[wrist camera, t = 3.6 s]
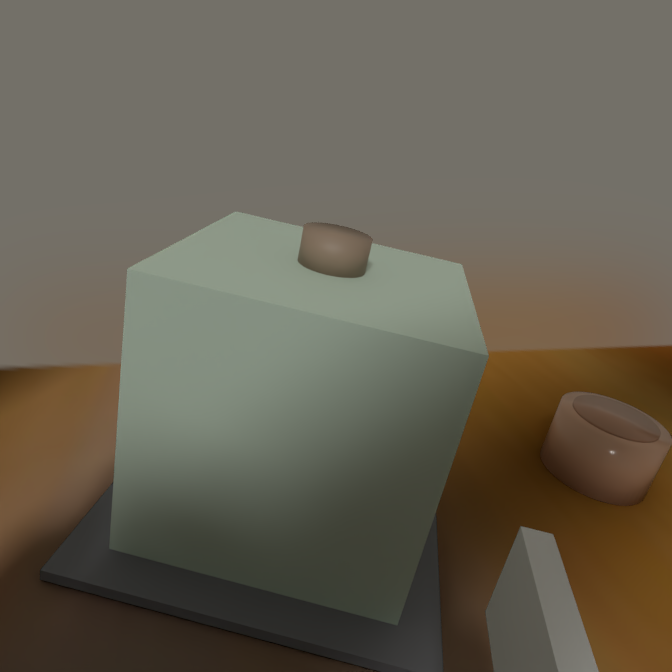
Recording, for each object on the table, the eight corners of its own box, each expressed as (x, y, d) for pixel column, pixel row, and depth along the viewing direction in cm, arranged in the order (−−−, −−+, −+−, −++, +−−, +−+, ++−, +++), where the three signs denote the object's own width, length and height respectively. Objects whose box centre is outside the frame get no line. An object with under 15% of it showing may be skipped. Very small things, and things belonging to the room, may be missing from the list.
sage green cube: (404, 457, 28) (469, 236, 24) (397, 625, 19) (503, 314, 15) (209, 408, 29) (239, 183, 24) (108, 548, 19) (130, 225, 15)
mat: (431, 454, 30) (433, 448, 29) (440, 688, 18) (444, 679, 17) (190, 394, 30) (191, 388, 30) (39, 579, 18) (40, 570, 18)
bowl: (589, 440, 35) (612, 388, 34) (667, 501, 30) (697, 444, 29) (519, 445, 33) (540, 390, 31) (591, 512, 28) (620, 450, 27)
